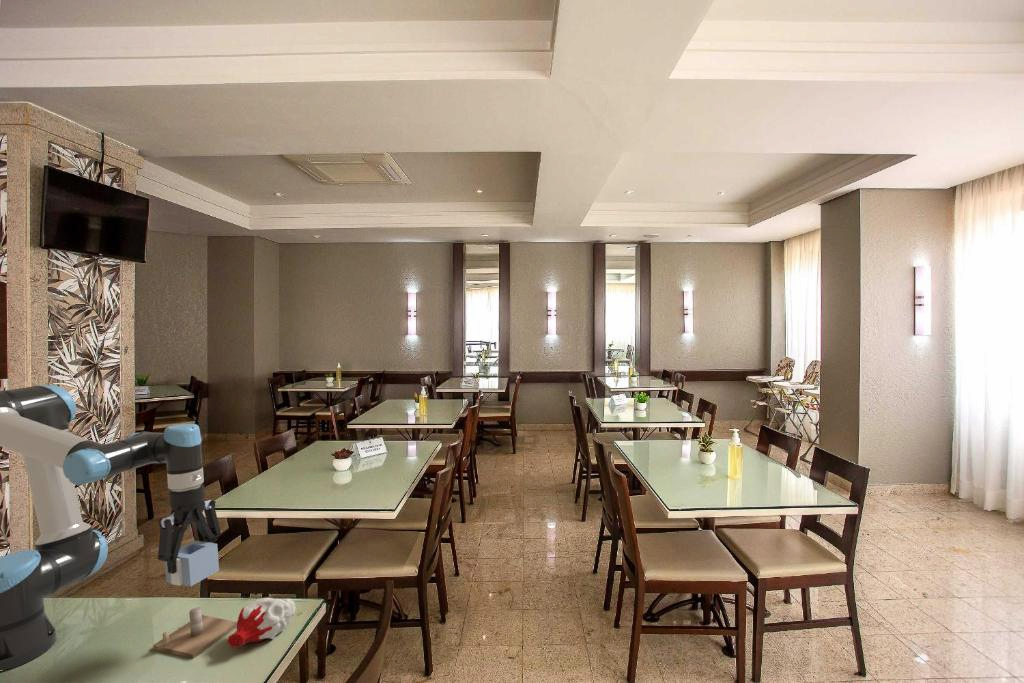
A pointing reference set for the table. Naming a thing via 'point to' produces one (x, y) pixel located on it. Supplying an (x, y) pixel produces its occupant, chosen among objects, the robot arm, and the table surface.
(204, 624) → the post base
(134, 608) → the table surface
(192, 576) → the square nut with handle
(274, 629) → the candle
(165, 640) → the dowel
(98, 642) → the table surface
